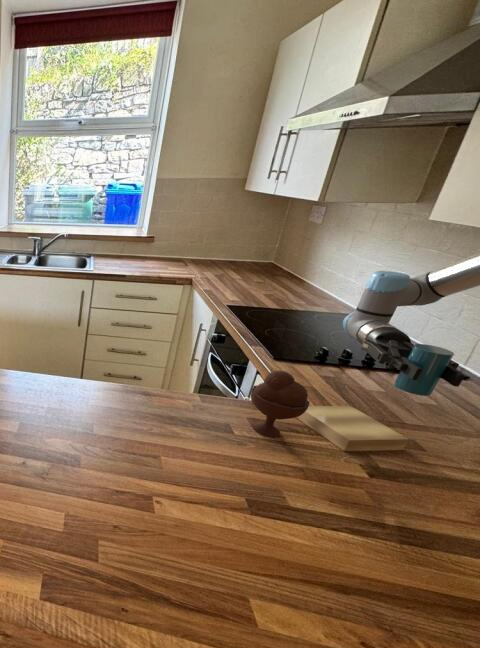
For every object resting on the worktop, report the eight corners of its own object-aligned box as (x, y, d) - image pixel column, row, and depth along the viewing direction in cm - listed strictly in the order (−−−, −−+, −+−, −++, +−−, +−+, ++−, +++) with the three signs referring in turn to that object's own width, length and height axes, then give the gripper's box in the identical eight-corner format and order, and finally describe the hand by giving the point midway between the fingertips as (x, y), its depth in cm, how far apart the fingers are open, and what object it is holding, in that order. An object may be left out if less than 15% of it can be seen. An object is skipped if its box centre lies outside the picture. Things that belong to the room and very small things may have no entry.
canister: (438, 395, 89) (462, 354, 85) (413, 396, 88) (436, 354, 84) (410, 382, 94) (431, 343, 90) (386, 383, 94) (406, 343, 90)
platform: (402, 450, 90) (409, 439, 88) (344, 451, 89) (349, 440, 87) (345, 415, 102) (350, 405, 101) (293, 416, 101) (297, 406, 100)
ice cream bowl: (235, 431, 95) (255, 374, 89) (245, 412, 102) (264, 359, 96) (290, 451, 88) (316, 391, 82) (296, 430, 96) (320, 374, 90)
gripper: (424, 359, 103) (489, 402, 83) (332, 346, 109) (373, 383, 90) (439, 332, 100) (510, 370, 80) (344, 320, 106) (388, 353, 86)
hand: (437, 377), depth 85 cm, fingers closed on canister, 6 cm apart
